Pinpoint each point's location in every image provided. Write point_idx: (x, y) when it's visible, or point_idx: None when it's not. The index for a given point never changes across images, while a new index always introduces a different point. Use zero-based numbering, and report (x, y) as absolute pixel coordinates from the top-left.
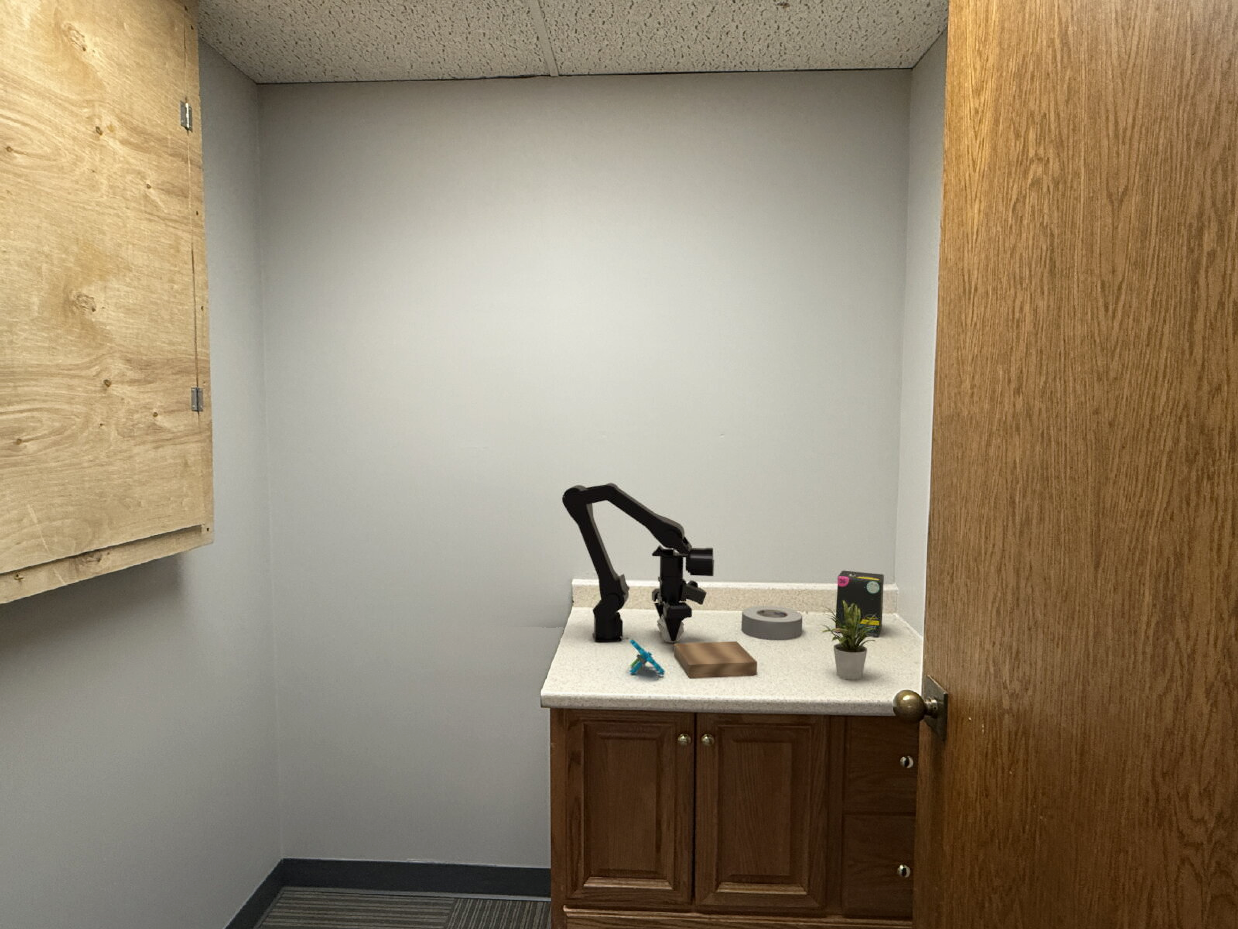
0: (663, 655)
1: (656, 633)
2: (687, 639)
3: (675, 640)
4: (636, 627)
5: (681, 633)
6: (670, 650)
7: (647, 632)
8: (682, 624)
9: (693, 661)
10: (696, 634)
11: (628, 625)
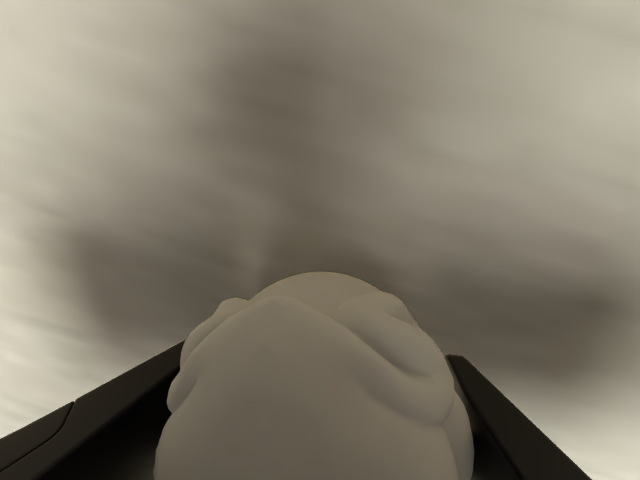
0: (629, 453)
1: (123, 341)
2: (265, 166)
3: (463, 359)
4: (27, 399)
5: (410, 317)
6: (531, 380)
7: (109, 380)
8: (376, 376)
9: None
10: (108, 26)
11: (3, 420)
